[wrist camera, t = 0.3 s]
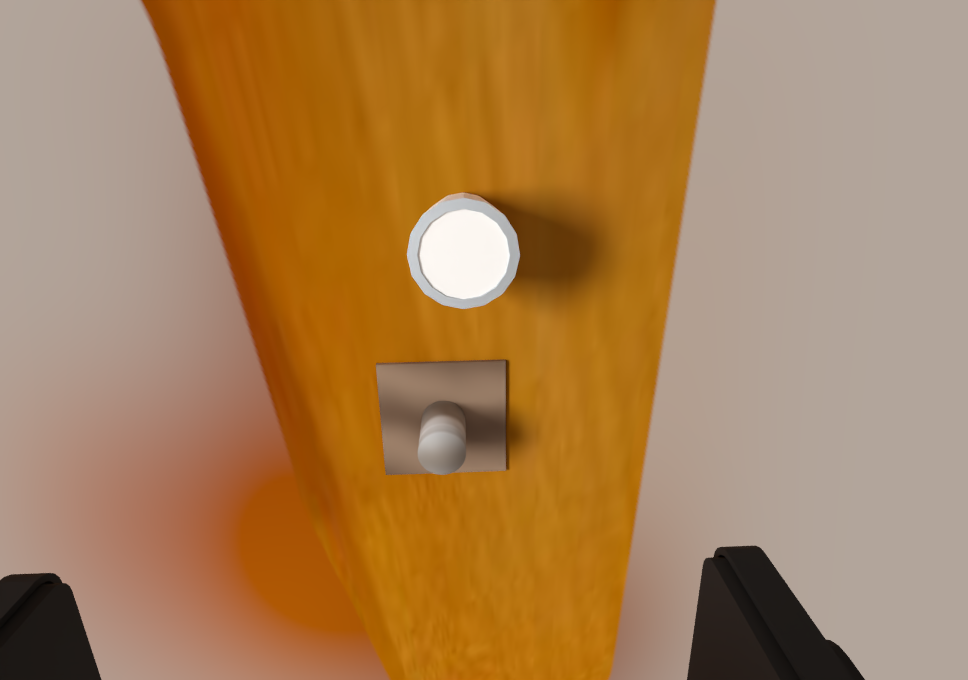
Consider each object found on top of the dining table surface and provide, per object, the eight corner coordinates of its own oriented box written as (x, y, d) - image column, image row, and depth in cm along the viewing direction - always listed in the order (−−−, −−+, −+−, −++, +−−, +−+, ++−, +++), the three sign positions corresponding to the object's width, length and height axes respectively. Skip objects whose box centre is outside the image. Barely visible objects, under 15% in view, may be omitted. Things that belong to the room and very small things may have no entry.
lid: (377, 360, 46) (366, 394, 41) (504, 357, 47) (510, 390, 41) (386, 469, 50) (378, 513, 45) (505, 465, 50) (510, 508, 45)
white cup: (524, 258, 43) (536, 285, 37) (437, 292, 44) (433, 325, 37) (490, 167, 41) (496, 179, 34) (399, 205, 41) (387, 224, 35)
